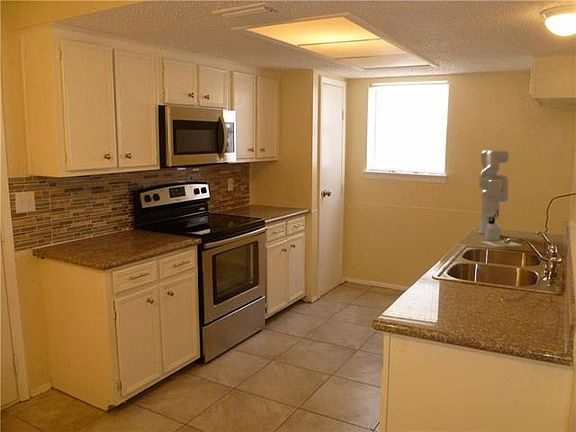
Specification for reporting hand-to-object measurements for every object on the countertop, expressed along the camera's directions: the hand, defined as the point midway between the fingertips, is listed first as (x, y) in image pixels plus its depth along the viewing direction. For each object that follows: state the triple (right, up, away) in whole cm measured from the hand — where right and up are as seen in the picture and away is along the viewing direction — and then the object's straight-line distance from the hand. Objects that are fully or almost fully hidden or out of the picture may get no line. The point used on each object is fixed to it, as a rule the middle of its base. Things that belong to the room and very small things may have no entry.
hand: (491, 226), depth 326 cm
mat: (+2, -11, -10) cm, 15 cm away
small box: (0, -9, +1) cm, 9 cm away
